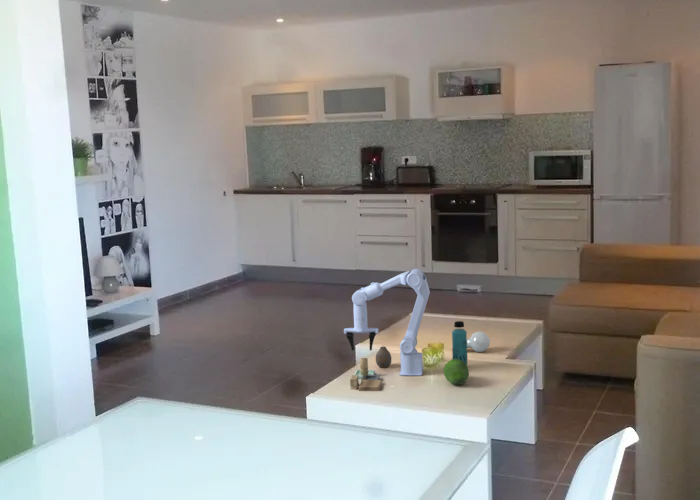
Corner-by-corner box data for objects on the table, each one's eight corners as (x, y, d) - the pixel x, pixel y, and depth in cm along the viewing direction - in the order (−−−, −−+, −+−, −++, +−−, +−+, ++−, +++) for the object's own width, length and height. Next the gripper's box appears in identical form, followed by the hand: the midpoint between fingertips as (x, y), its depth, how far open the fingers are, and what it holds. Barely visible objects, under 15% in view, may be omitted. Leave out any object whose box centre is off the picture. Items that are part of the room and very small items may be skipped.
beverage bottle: (450, 369, 345) (449, 323, 343) (454, 364, 351) (453, 319, 349) (465, 370, 343) (464, 323, 340) (469, 365, 349) (468, 320, 346)
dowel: (368, 373, 341) (367, 357, 340) (368, 376, 338) (367, 359, 337) (360, 374, 341) (360, 357, 340) (360, 376, 338) (359, 360, 337)
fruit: (444, 377, 334) (443, 353, 332) (468, 377, 332) (467, 353, 331) (444, 388, 319) (443, 363, 317) (469, 388, 318) (469, 363, 316)
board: (381, 384, 329) (381, 379, 329) (379, 392, 319) (378, 387, 319) (362, 384, 330) (361, 379, 330) (359, 392, 320) (358, 387, 320)
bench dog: (358, 384, 328) (358, 375, 328) (356, 389, 322) (356, 379, 322) (352, 384, 329) (352, 375, 328) (350, 389, 323) (350, 379, 322)
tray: (375, 373, 343) (375, 370, 343) (372, 378, 335) (372, 375, 335) (356, 373, 344) (356, 370, 344) (353, 378, 337) (353, 375, 336)
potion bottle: (492, 355, 369) (459, 358, 372) (490, 339, 376) (458, 342, 379) (489, 342, 363) (456, 346, 366) (488, 326, 370) (455, 329, 373)
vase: (392, 364, 356) (391, 345, 355) (391, 368, 349) (390, 349, 348) (376, 364, 357) (375, 345, 356) (375, 369, 350) (374, 349, 349)
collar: (380, 378, 336) (380, 374, 336) (378, 383, 329) (378, 379, 329) (363, 378, 337) (363, 374, 337) (361, 383, 330) (361, 379, 330)
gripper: (342, 320, 340) (343, 352, 341) (376, 320, 337) (377, 352, 339) (344, 317, 347) (346, 348, 348) (378, 316, 344) (379, 347, 346)
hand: (361, 349), depth 344 cm, fingers open, 7 cm apart
